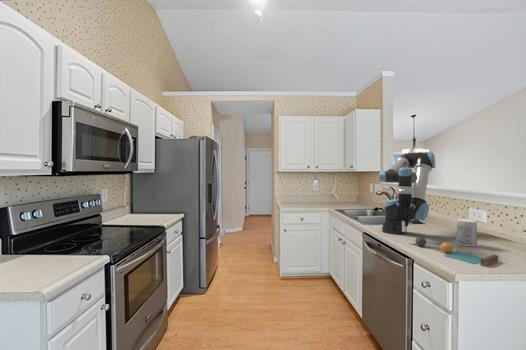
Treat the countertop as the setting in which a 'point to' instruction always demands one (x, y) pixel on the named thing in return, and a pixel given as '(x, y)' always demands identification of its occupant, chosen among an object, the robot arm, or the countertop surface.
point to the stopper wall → (489, 260)
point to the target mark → (465, 257)
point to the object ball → (446, 247)
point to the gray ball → (420, 241)
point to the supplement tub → (467, 232)
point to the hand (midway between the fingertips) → (404, 231)
